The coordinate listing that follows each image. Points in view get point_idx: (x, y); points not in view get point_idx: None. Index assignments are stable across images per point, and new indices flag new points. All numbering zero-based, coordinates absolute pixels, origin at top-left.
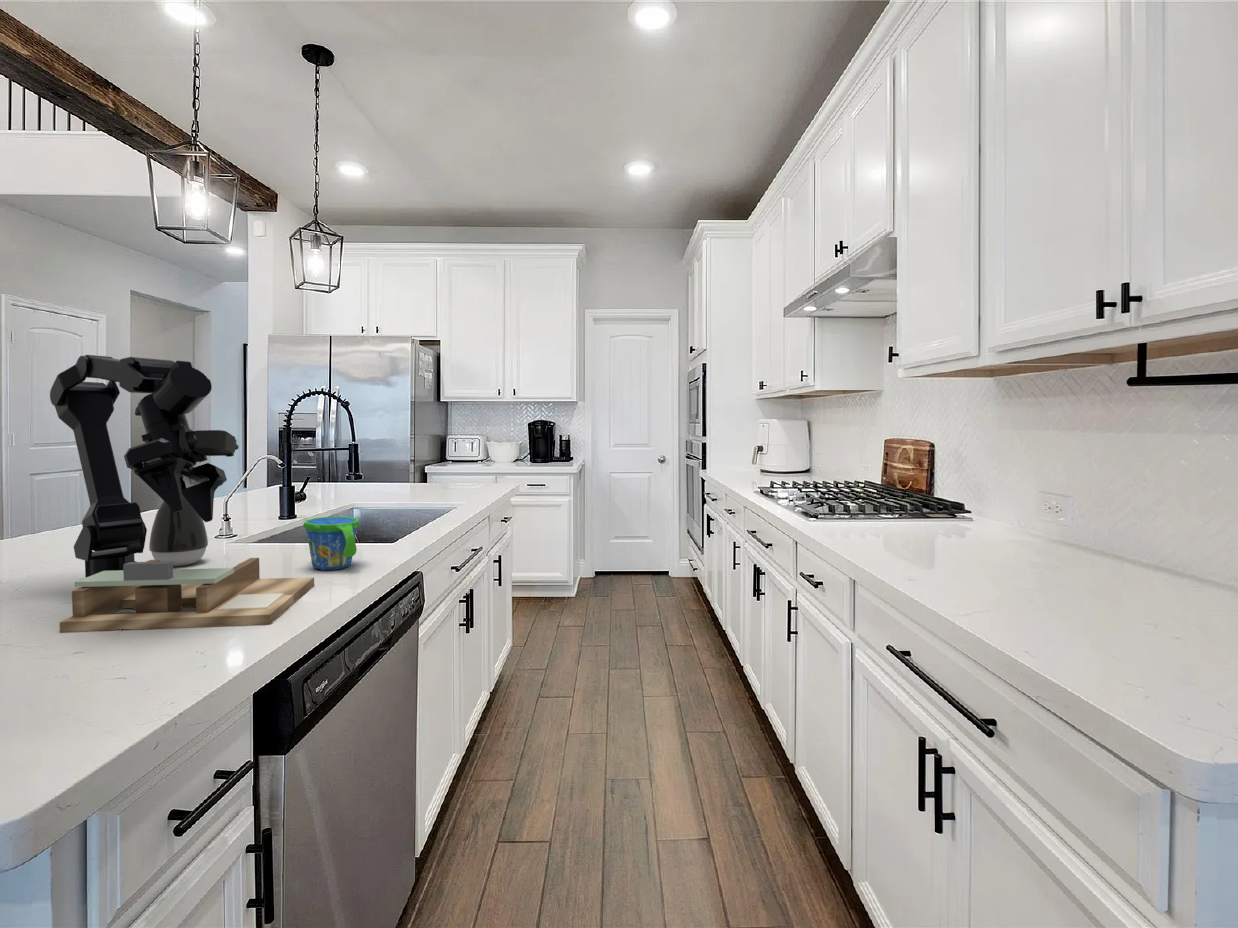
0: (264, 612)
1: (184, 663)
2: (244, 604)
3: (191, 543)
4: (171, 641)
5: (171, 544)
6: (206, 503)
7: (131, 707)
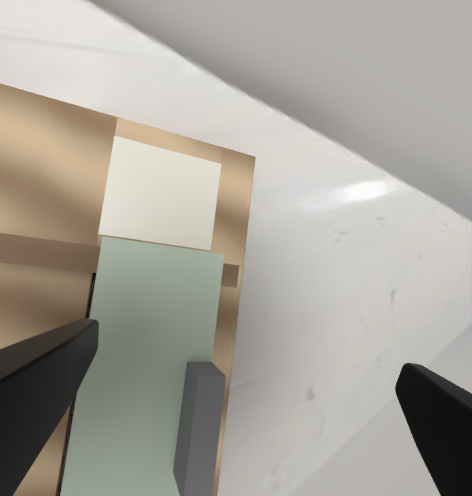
0: (241, 166)
1: (369, 243)
2: (190, 206)
3: None
4: (293, 288)
5: None
6: (15, 402)
7: (447, 255)
